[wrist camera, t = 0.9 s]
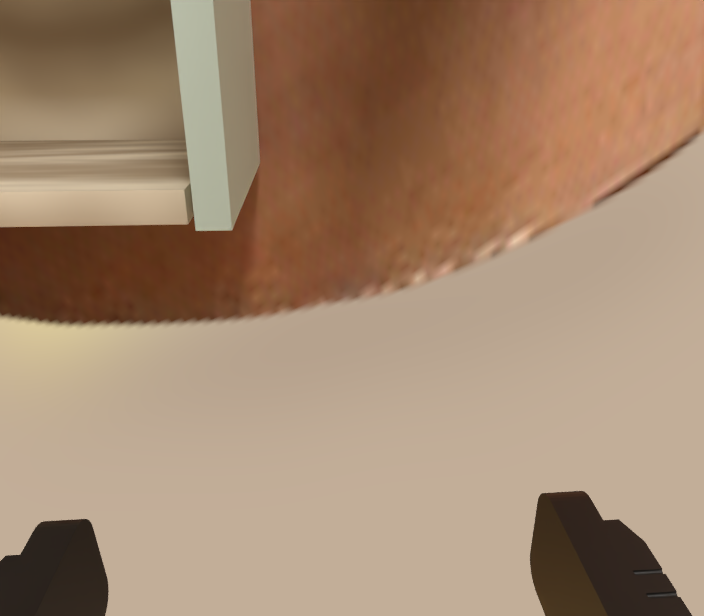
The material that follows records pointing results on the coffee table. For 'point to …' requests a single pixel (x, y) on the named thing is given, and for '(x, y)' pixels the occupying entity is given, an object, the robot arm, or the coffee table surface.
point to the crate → (91, 115)
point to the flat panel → (217, 105)
